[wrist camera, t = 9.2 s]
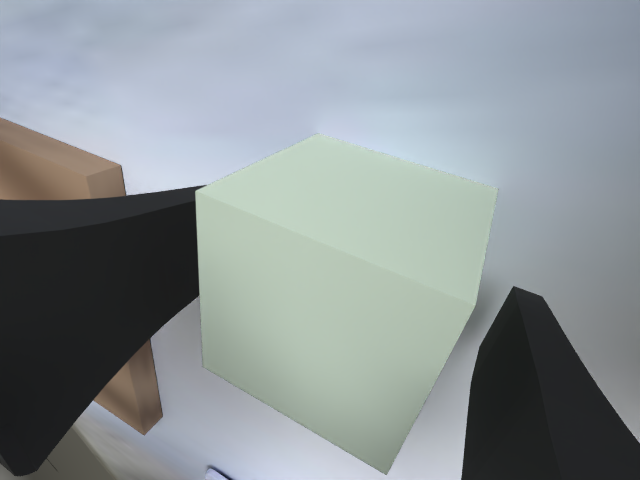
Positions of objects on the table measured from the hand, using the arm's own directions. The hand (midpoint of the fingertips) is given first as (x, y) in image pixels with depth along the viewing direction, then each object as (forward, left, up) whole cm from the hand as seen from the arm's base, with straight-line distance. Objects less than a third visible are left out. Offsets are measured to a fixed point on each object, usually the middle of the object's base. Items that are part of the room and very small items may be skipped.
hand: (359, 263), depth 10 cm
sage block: (0, 0, -2) cm, 2 cm away
